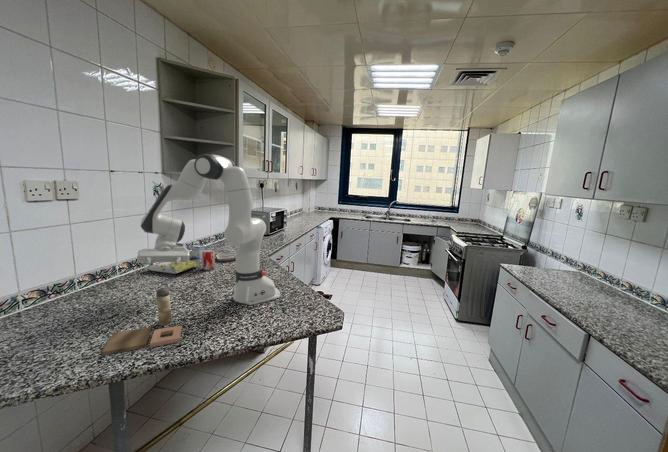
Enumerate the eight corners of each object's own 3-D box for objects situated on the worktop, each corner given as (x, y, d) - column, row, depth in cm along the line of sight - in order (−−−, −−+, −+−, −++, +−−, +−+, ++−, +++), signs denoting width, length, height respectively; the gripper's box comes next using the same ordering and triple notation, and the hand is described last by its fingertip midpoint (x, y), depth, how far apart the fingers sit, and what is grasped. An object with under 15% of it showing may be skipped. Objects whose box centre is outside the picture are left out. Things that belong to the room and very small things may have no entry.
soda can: (210, 271, 171) (209, 252, 169) (200, 270, 172) (199, 251, 170) (217, 267, 178) (216, 249, 175) (207, 266, 179) (206, 248, 177)
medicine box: (191, 257, 197) (190, 245, 195) (196, 256, 201) (196, 244, 199) (199, 259, 194) (199, 247, 192) (205, 257, 198) (204, 245, 196)
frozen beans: (177, 268, 158) (141, 263, 163) (177, 277, 158) (142, 272, 164) (202, 258, 178) (169, 255, 183) (202, 267, 179) (170, 263, 184)
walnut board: (152, 329, 107) (151, 326, 106) (145, 347, 96) (145, 344, 96) (113, 335, 102) (113, 332, 102) (102, 355, 91) (101, 352, 91)
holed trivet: (182, 328, 108) (181, 325, 108) (179, 341, 100) (179, 337, 99) (154, 333, 104) (154, 329, 104) (150, 347, 96) (149, 343, 96)
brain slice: (240, 262, 191) (240, 257, 191) (214, 263, 186) (214, 259, 186) (241, 254, 210) (241, 250, 209) (217, 255, 205) (217, 251, 204)
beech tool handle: (172, 318, 115) (169, 287, 112) (171, 324, 111) (168, 291, 108) (160, 320, 113) (157, 288, 110) (158, 326, 109) (155, 293, 107)
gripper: (138, 243, 126) (134, 257, 115) (189, 244, 136) (190, 257, 125) (138, 256, 128) (134, 271, 117) (188, 255, 138) (189, 269, 127)
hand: (163, 264), depth 121 cm, fingers open, 8 cm apart
